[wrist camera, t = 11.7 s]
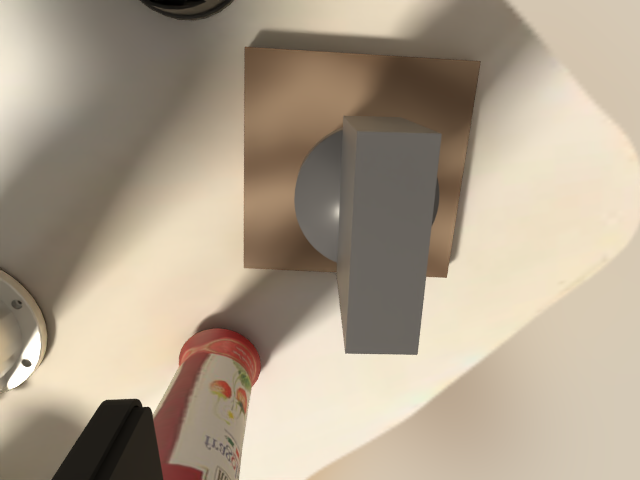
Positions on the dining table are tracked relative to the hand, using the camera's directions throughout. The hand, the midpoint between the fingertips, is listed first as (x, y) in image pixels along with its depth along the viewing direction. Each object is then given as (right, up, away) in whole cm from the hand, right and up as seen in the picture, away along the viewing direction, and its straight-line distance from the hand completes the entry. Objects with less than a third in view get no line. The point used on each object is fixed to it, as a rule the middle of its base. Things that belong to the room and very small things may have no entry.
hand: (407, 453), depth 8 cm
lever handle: (+1, +7, +19) cm, 20 cm away
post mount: (+1, +9, +27) cm, 28 cm away
